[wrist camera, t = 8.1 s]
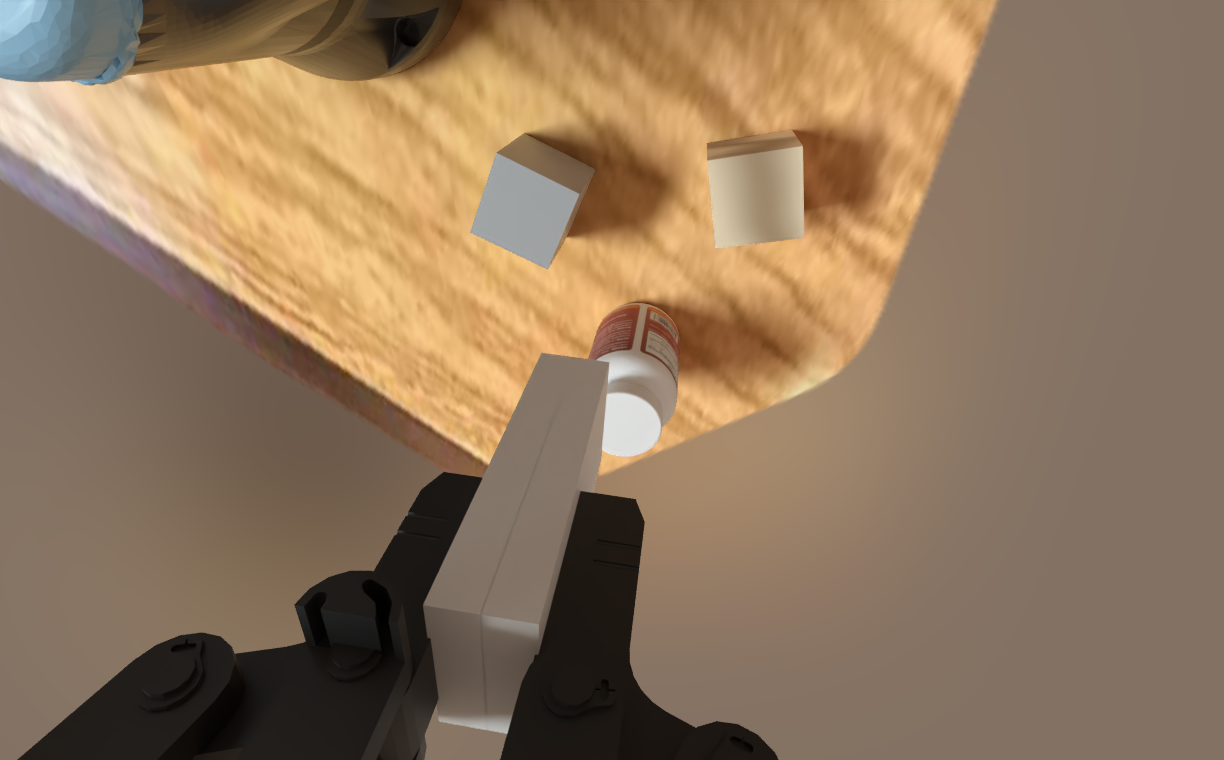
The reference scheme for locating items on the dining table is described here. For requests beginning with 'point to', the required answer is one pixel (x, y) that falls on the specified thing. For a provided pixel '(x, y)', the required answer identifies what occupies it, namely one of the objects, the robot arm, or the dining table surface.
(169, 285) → the dining table surface
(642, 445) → the pill bottle
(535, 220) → the grey block
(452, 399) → the dining table surface
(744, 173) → the maple block
